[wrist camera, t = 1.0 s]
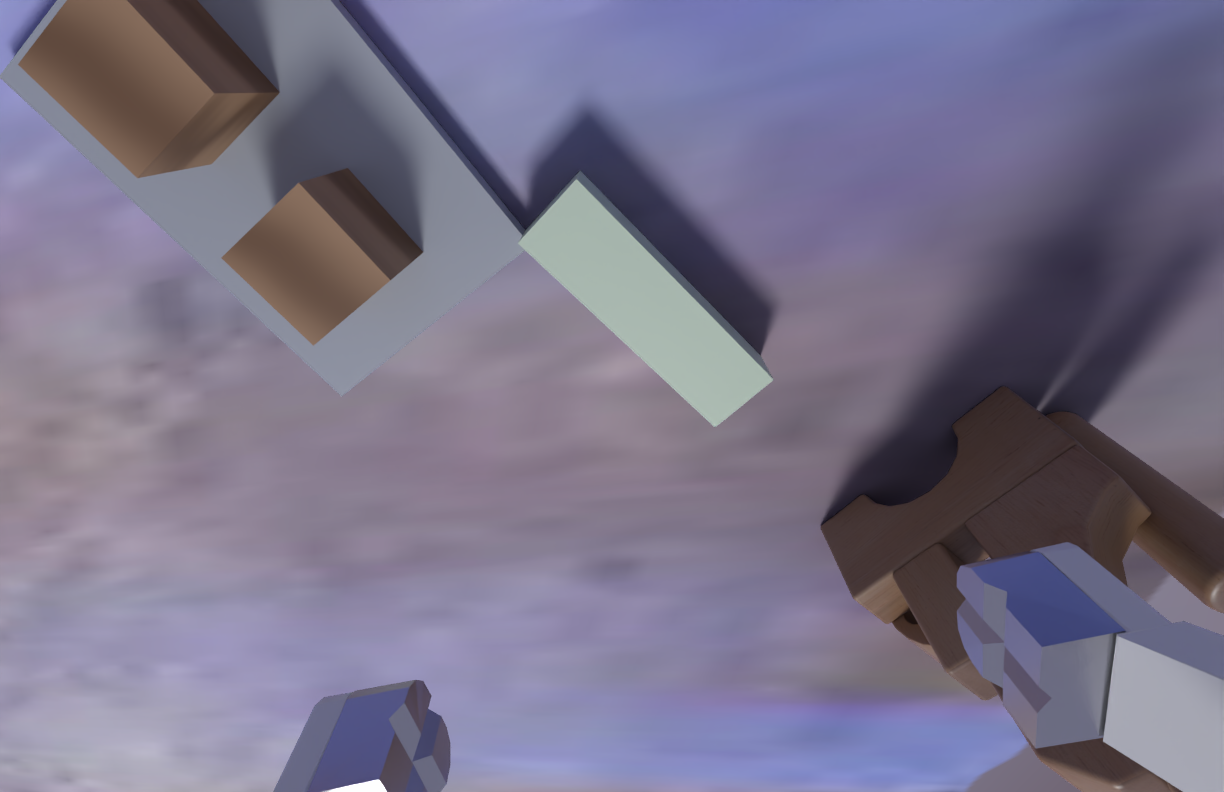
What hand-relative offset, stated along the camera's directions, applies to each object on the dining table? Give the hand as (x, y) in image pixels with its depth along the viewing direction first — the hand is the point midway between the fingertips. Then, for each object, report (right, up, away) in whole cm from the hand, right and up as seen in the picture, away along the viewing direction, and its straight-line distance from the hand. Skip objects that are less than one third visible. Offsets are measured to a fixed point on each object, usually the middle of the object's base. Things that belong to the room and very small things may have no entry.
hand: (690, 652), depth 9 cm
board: (-17, +15, +21) cm, 31 cm away
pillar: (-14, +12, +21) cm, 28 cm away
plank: (+1, +9, +24) cm, 26 cm away
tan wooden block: (-20, +18, +18) cm, 32 cm away
